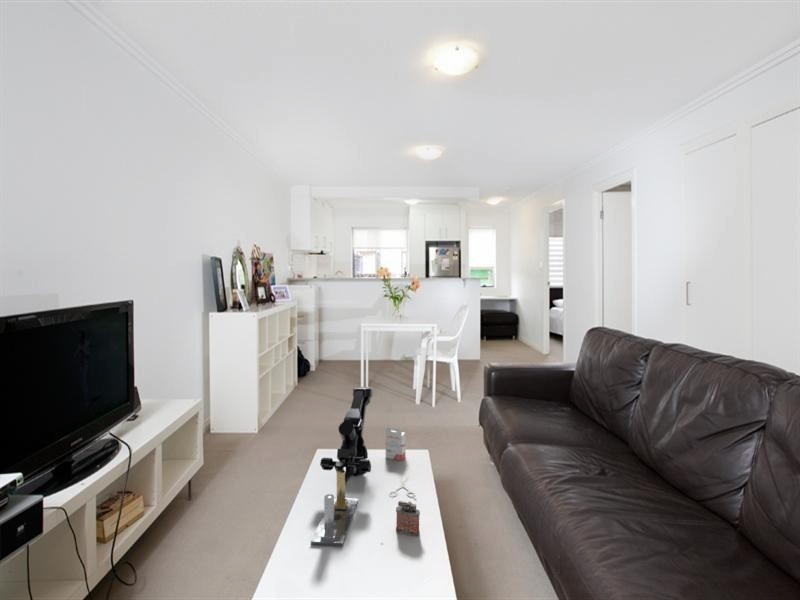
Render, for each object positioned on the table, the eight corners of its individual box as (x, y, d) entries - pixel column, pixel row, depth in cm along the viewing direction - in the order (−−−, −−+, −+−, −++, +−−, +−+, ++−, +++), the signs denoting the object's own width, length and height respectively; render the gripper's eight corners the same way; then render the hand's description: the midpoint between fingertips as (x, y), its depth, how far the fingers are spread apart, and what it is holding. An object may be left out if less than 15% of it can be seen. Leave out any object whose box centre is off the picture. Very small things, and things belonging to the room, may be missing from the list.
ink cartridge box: (405, 456, 183) (406, 426, 182) (401, 461, 178) (402, 429, 178) (389, 453, 186) (389, 423, 186) (385, 457, 182) (385, 427, 181)
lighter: (420, 531, 128) (421, 502, 127) (417, 538, 124) (418, 507, 124) (397, 526, 130) (398, 497, 130) (394, 532, 127) (394, 503, 127)
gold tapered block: (336, 502, 141) (336, 469, 141) (348, 503, 141) (348, 470, 140) (333, 508, 138) (333, 474, 137) (345, 509, 137) (345, 475, 137)
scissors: (388, 498, 147) (392, 472, 167) (388, 500, 147) (392, 474, 167) (416, 499, 146) (416, 473, 166) (416, 501, 146) (416, 474, 166)
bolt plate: (331, 500, 146) (331, 463, 145) (357, 501, 145) (357, 465, 144) (310, 545, 121) (310, 501, 120) (342, 547, 120) (342, 502, 119)
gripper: (321, 436, 147) (312, 479, 136) (370, 438, 145) (364, 482, 135) (327, 448, 155) (319, 490, 144) (373, 450, 153) (368, 492, 143)
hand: (342, 488), depth 141 cm, fingers closed
